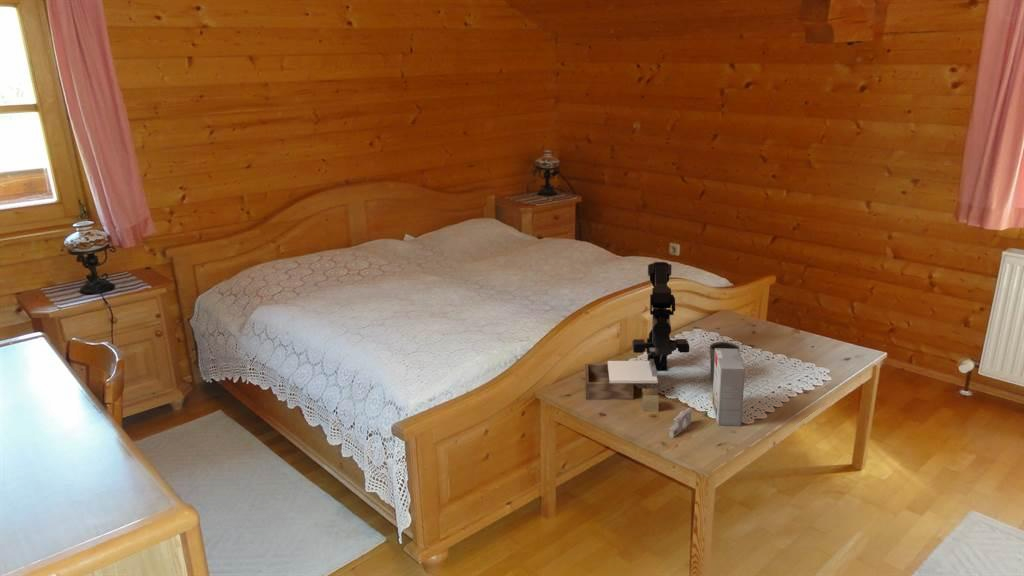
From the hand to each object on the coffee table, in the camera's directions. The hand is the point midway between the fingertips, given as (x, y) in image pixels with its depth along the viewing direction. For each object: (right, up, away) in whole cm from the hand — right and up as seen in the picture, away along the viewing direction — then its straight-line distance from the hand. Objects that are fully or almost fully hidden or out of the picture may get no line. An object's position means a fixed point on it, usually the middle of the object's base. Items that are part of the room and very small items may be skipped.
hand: (659, 368), depth 246 cm
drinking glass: (+24, -5, +9) cm, 26 cm away
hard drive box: (+18, -13, -16) cm, 28 cm away
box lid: (-10, -2, +1) cm, 10 cm away
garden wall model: (+1, -17, -24) cm, 29 cm away
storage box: (-17, -8, +4) cm, 19 cm away
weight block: (-5, -12, -10) cm, 17 cm away
